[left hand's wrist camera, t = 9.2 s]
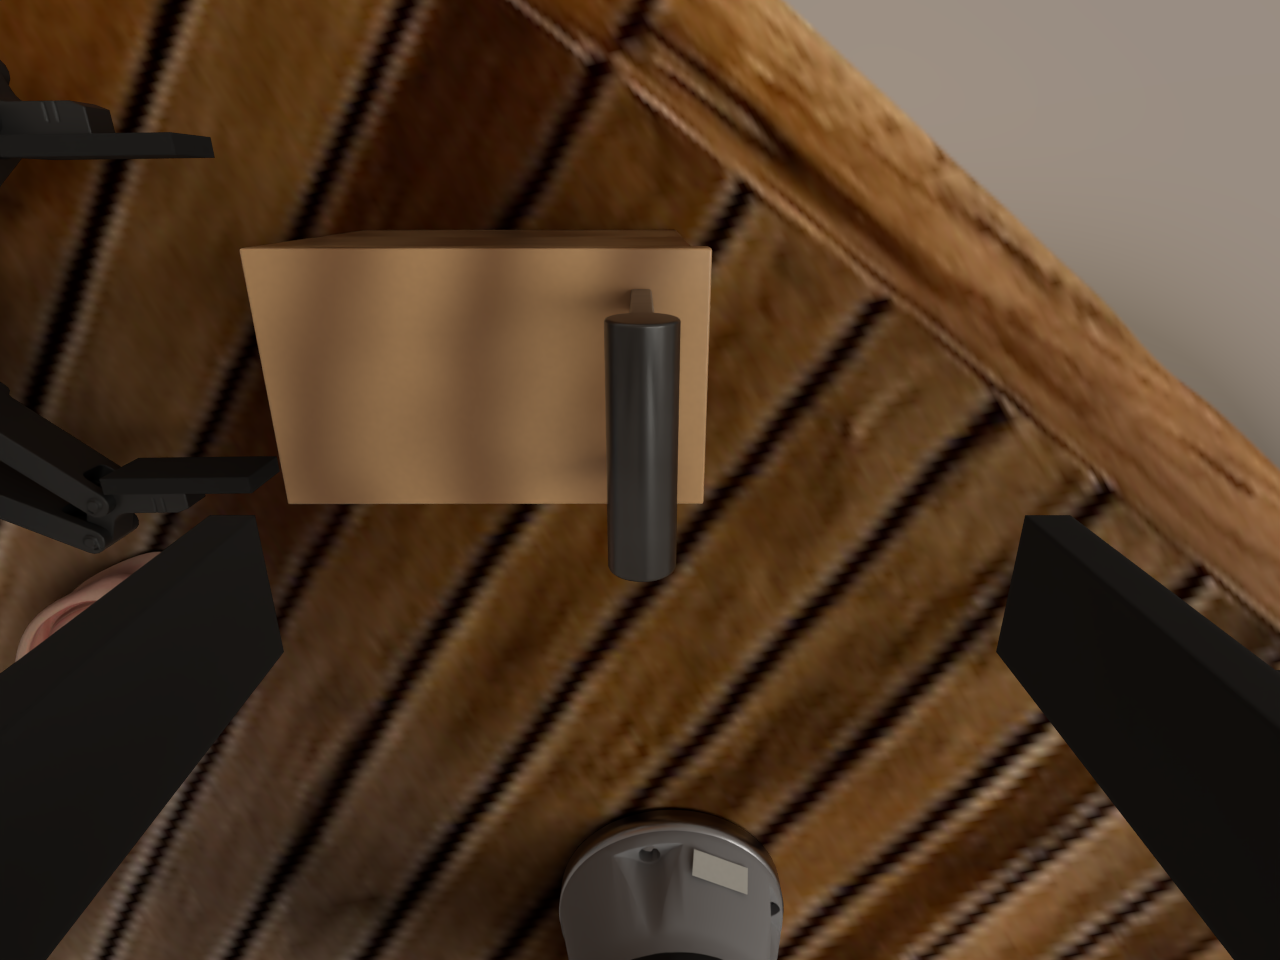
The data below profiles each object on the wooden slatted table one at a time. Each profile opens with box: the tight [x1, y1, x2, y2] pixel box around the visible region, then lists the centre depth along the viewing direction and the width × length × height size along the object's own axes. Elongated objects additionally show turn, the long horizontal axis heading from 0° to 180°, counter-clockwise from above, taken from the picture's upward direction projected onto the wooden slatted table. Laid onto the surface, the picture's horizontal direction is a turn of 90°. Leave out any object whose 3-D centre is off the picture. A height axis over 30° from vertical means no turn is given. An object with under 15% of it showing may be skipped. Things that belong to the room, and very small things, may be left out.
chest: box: [254, 230, 690, 247], centre depth 32 cm, size 15×9×11 cm, turn 90°
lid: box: [240, 246, 712, 582], centre depth 23 cm, size 16×9×9 cm, turn 90°
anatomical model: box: [15, 552, 161, 662], centre depth 42 cm, size 13×4×12 cm
